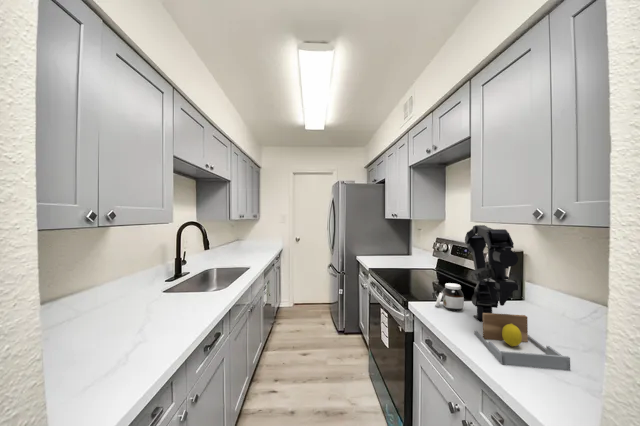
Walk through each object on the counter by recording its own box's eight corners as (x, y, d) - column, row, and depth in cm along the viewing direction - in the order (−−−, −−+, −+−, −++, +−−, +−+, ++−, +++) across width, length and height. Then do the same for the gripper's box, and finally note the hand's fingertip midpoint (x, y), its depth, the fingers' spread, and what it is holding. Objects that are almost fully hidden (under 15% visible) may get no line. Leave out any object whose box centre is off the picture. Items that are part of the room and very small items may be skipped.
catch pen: (474, 334, 101) (474, 324, 101) (527, 338, 97) (527, 327, 97) (502, 365, 80) (501, 352, 80) (570, 371, 77) (570, 357, 77)
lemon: (502, 341, 95) (502, 319, 95) (522, 346, 91) (521, 323, 92) (501, 347, 91) (501, 324, 91) (521, 352, 87) (521, 328, 87)
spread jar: (466, 312, 123) (466, 287, 123) (442, 312, 123) (441, 287, 123) (454, 304, 135) (453, 281, 135) (431, 304, 135) (431, 281, 135)
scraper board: (482, 337, 98) (482, 312, 98) (525, 340, 95) (524, 315, 95) (484, 339, 96) (484, 314, 96) (527, 342, 94) (527, 316, 94)
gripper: (465, 257, 112) (465, 294, 112) (484, 265, 93) (485, 309, 93) (494, 258, 110) (494, 295, 110) (519, 266, 91) (520, 311, 91)
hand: (497, 302), depth 101 cm, fingers open, 6 cm apart
